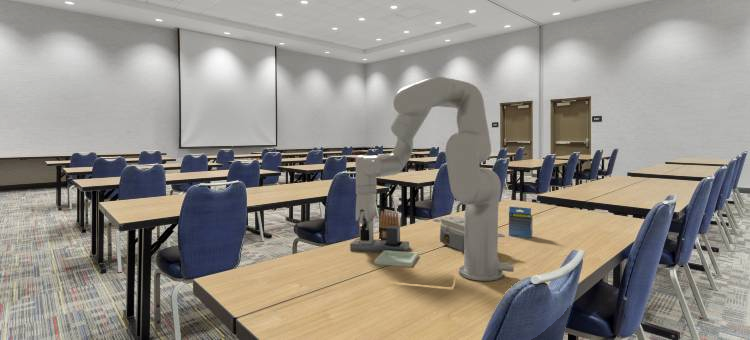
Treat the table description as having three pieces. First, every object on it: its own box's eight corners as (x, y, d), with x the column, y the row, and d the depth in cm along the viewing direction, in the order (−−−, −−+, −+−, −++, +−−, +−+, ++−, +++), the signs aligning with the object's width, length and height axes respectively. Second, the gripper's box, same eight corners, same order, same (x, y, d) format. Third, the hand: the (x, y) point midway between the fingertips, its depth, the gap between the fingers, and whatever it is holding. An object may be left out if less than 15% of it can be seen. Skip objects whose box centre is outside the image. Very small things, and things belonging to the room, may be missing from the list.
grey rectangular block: (373, 244, 150) (373, 219, 150) (370, 247, 146) (370, 221, 146) (363, 244, 151) (362, 218, 151) (359, 246, 148) (359, 220, 147)
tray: (418, 257, 139) (418, 252, 138) (411, 268, 127) (411, 262, 127) (384, 255, 142) (384, 250, 142) (374, 265, 131) (374, 260, 130)
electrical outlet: (449, 236, 165) (451, 212, 164) (507, 258, 142) (509, 230, 140) (427, 241, 159) (429, 216, 157) (484, 264, 135) (486, 235, 134)
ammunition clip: (400, 243, 158) (400, 213, 157) (397, 244, 156) (396, 213, 156) (382, 238, 166) (382, 209, 165) (378, 239, 165) (378, 210, 164)
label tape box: (532, 236, 167) (533, 206, 166) (530, 238, 164) (531, 208, 163) (510, 233, 172) (511, 205, 171) (508, 235, 168) (508, 206, 167)
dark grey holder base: (413, 245, 155) (412, 221, 155) (404, 255, 141) (404, 230, 140) (363, 241, 161) (363, 219, 160) (350, 251, 147) (349, 227, 146)
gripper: (363, 186, 156) (364, 233, 158) (348, 192, 140) (349, 244, 142) (382, 186, 154) (382, 234, 156) (369, 192, 138) (369, 245, 140)
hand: (366, 238), depth 149 cm, fingers closed on grey rectangular block, 4 cm apart
